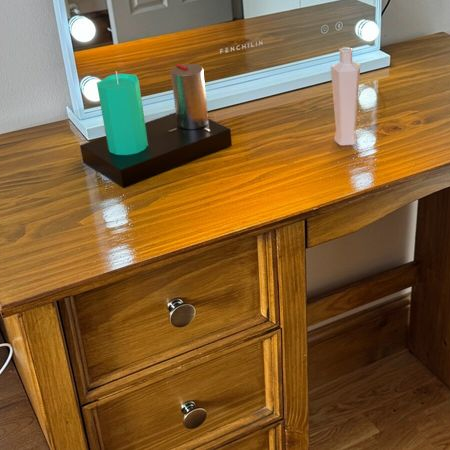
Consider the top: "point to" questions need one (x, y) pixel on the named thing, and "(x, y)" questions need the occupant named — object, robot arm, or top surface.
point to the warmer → (157, 150)
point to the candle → (123, 114)
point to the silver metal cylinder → (189, 96)
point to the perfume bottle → (345, 97)
